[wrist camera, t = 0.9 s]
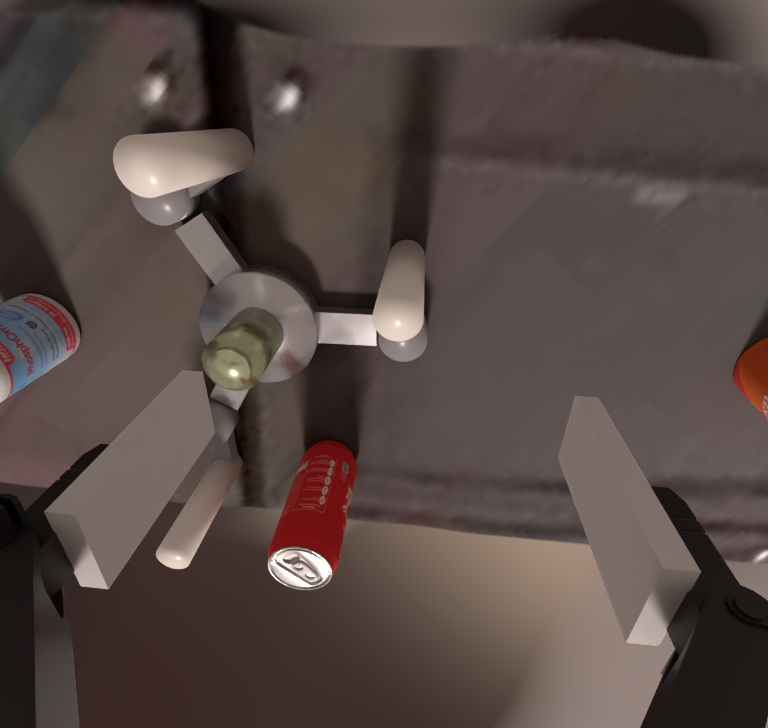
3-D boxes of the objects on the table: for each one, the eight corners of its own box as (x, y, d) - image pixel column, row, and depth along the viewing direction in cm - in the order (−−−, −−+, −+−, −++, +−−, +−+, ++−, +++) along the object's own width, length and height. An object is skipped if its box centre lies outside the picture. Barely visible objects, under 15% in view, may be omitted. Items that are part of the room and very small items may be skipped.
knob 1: (173, 227, 33) (66, 274, 23) (139, 181, 31) (9, 210, 22) (266, 165, 30) (189, 189, 20) (233, 112, 29) (133, 111, 19)
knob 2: (425, 348, 36) (425, 435, 26) (381, 346, 36) (363, 431, 26) (433, 239, 31) (435, 295, 22) (382, 238, 32) (362, 292, 22)
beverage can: (333, 427, 41) (300, 535, 30) (369, 463, 42) (350, 577, 32) (293, 452, 43) (249, 562, 32) (329, 485, 44) (299, 600, 34)
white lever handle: (197, 395, 40) (123, 485, 30) (236, 397, 40) (174, 488, 30) (214, 468, 44) (154, 566, 34) (249, 470, 44) (199, 570, 34)
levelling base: (139, 350, 38) (74, 404, 31) (192, 199, 32) (123, 224, 25) (311, 438, 41) (287, 505, 34) (392, 317, 35) (383, 369, 28)
